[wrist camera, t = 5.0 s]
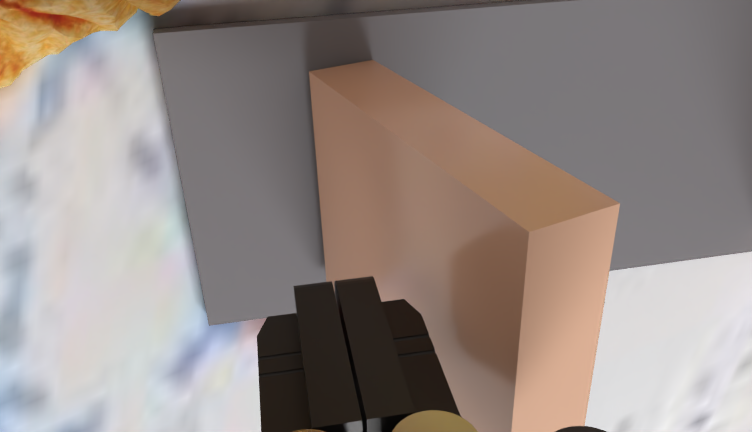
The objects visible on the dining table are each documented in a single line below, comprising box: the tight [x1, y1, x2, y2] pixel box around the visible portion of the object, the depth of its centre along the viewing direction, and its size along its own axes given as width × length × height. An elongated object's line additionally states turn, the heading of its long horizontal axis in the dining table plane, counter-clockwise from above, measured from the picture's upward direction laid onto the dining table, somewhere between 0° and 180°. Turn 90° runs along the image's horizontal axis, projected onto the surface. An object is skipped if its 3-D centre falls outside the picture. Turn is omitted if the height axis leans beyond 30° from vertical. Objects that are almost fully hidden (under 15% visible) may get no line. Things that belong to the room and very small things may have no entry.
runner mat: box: [153, 0, 752, 325], centre depth 19 cm, size 8×26×1 cm, turn 92°
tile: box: [309, 60, 620, 432], centre depth 14 cm, size 6×2×8 cm, turn 2°
